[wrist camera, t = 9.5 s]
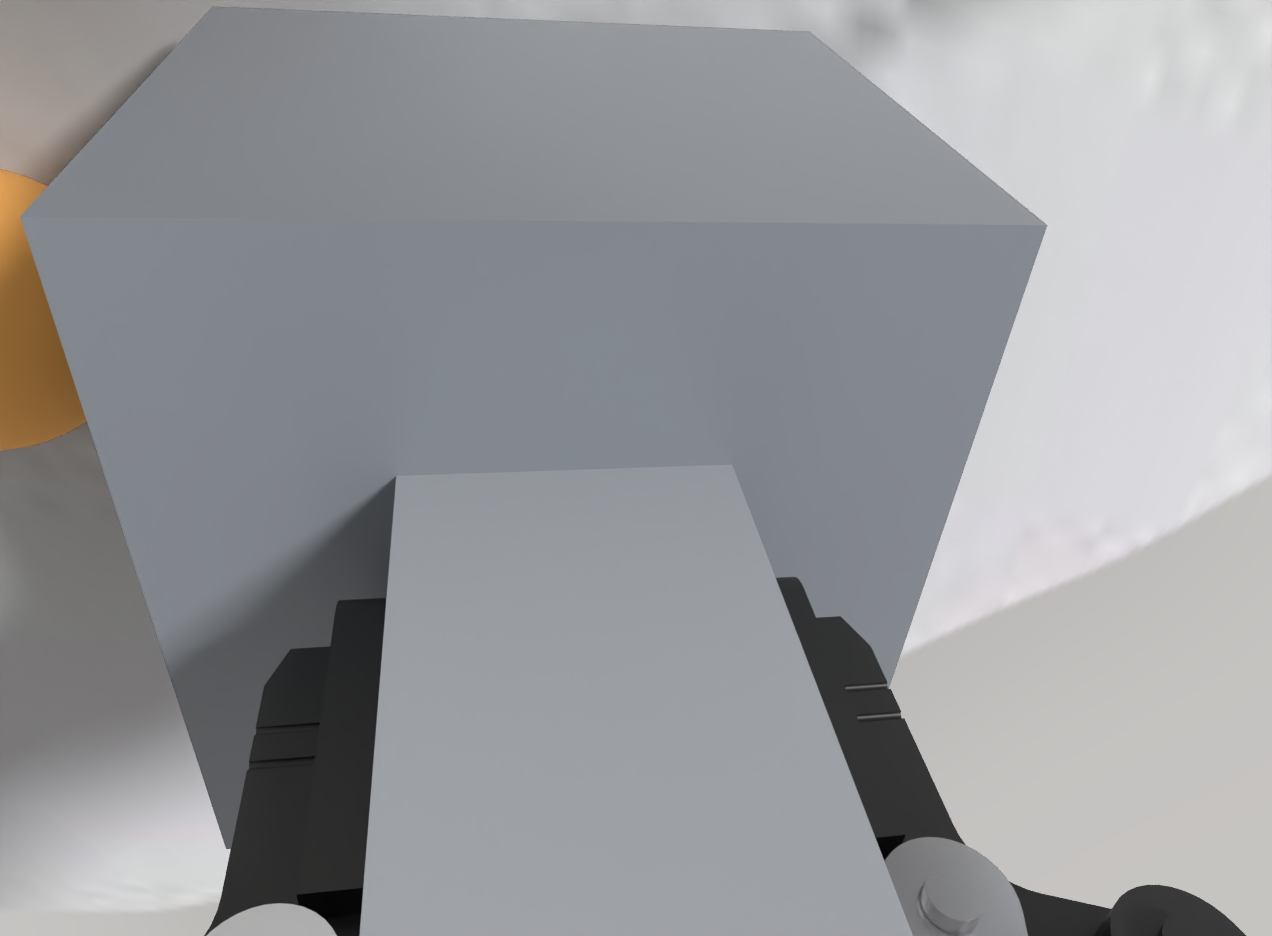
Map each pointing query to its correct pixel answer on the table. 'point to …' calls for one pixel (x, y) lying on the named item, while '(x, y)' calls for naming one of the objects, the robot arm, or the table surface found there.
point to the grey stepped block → (538, 433)
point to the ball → (29, 335)
